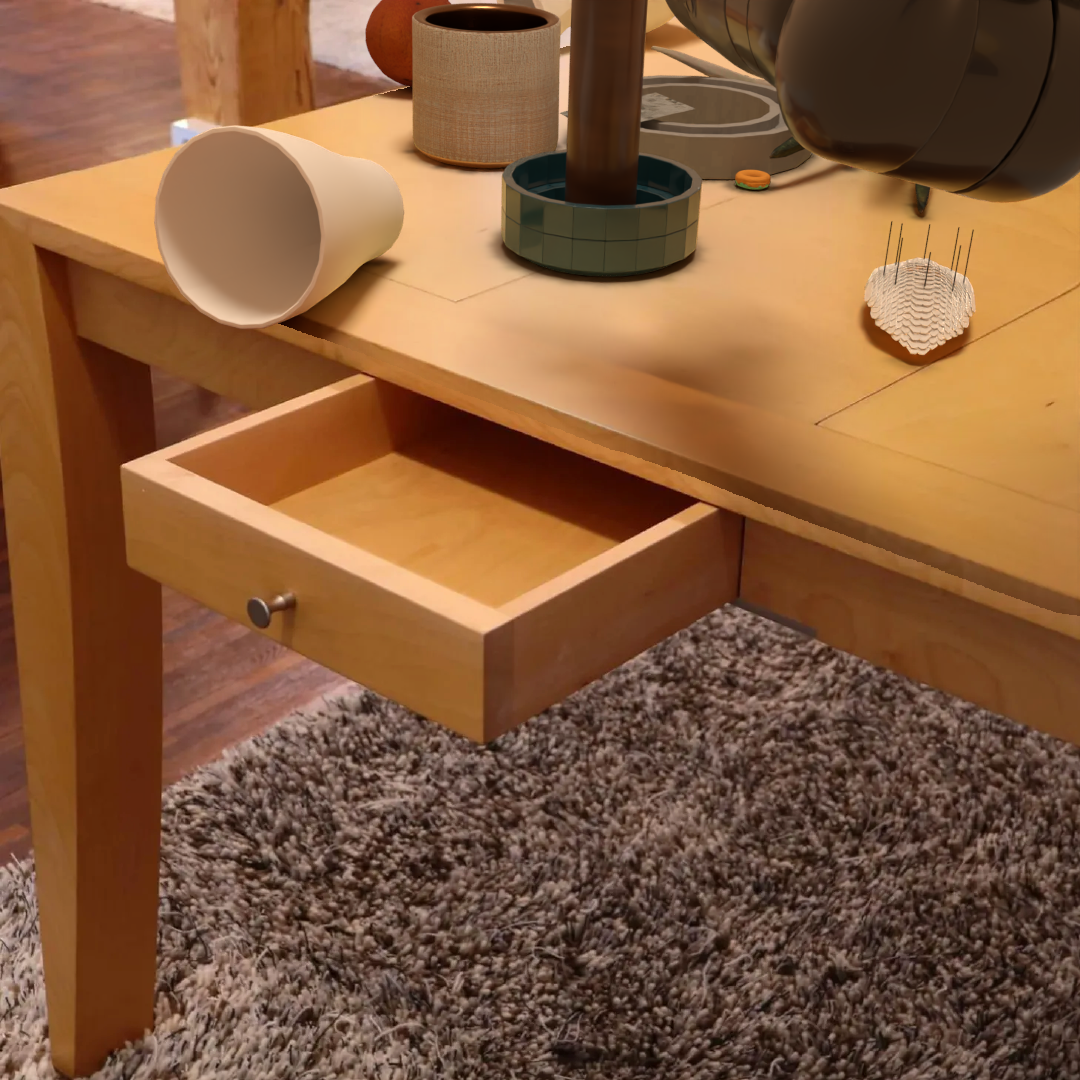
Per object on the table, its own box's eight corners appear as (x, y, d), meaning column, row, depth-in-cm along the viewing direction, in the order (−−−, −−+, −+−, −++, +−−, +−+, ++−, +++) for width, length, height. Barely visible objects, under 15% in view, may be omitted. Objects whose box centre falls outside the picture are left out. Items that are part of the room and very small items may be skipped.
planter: (415, 129, 114) (413, 0, 109) (554, 131, 115) (558, 3, 110) (410, 170, 105) (407, 31, 100) (561, 172, 105) (566, 34, 101)
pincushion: (974, 371, 77) (994, 268, 74) (857, 358, 78) (872, 256, 75) (967, 290, 87) (984, 197, 84) (863, 280, 88) (876, 188, 85)
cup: (472, 217, 86) (364, 240, 74) (361, 331, 91) (242, 369, 79) (359, 80, 86) (232, 80, 74) (254, 201, 91) (119, 220, 79)
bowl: (701, 222, 97) (706, 155, 94) (689, 289, 86) (695, 215, 84) (518, 209, 98) (519, 142, 96) (486, 273, 88) (486, 199, 85)
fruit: (337, 51, 120) (369, -43, 120) (381, 87, 129) (410, -2, 128) (432, 77, 118) (464, -19, 117) (469, 112, 126) (500, 22, 126)
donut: (833, 147, 109) (831, 160, 109) (729, 170, 104) (728, 184, 104) (857, 156, 107) (855, 169, 108) (753, 180, 102) (751, 194, 102)
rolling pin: (636, 229, 93) (652, -37, 85) (630, 252, 90) (646, -23, 81) (568, 224, 94) (577, -40, 86) (559, 247, 90) (568, -27, 82)
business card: (653, 92, 111) (653, 86, 111) (697, 108, 108) (697, 102, 107) (557, 118, 107) (557, 112, 107) (599, 136, 103) (599, 130, 103)
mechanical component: (531, 154, 109) (532, 114, 107) (632, 101, 123) (634, 65, 122) (761, 194, 102) (766, 151, 101) (840, 133, 116) (845, 95, 115)
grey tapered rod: (807, 89, 125) (798, 112, 125) (766, 75, 127) (758, 98, 128) (680, 35, 112) (670, 61, 113) (637, 22, 115) (628, 47, 116)
